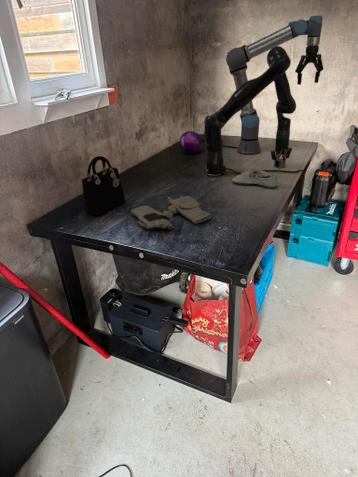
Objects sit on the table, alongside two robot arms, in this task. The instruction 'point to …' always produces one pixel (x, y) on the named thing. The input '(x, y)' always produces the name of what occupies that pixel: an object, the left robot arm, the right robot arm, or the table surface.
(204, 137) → the boot
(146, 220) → the pair of gloves
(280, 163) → the metal block
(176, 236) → the table surface
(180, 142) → the decorative orb
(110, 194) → the handbag
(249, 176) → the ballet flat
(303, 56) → the right robot arm
